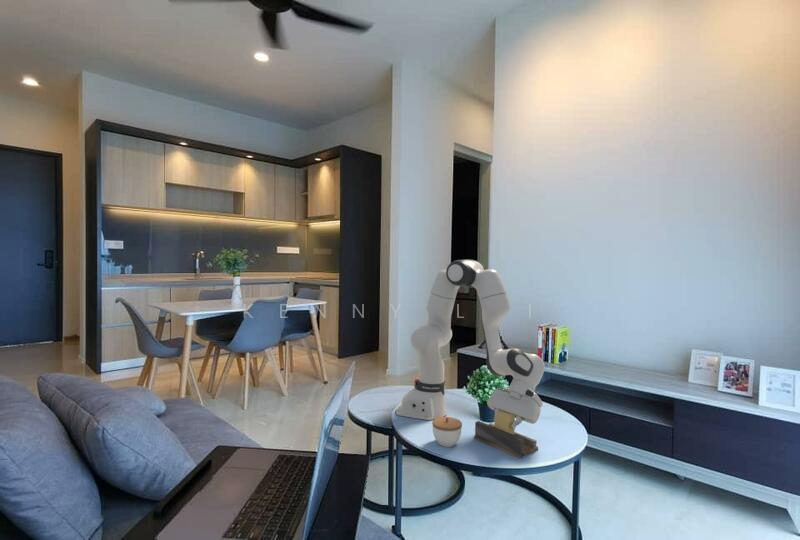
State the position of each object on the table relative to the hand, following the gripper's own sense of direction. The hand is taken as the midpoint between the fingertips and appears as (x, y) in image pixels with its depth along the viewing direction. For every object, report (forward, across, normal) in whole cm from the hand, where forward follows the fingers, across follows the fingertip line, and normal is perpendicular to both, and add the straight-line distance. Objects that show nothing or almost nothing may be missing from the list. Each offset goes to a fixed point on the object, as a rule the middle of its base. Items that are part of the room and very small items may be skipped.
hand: (503, 425), depth 147 cm
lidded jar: (+16, -13, -6) cm, 22 cm away
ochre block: (+3, 0, +4) cm, 5 cm away
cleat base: (+4, 0, +6) cm, 7 cm away
